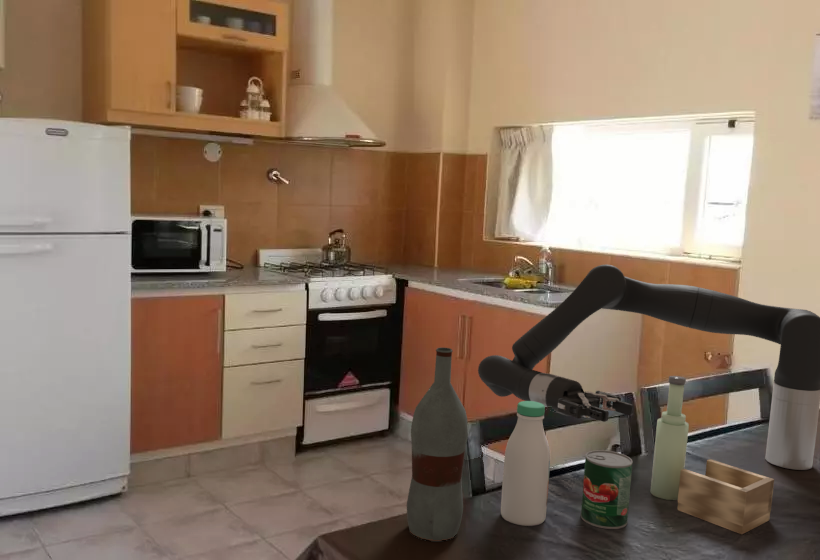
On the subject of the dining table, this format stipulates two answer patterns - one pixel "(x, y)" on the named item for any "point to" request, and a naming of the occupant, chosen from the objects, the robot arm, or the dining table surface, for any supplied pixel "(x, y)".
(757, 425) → the dining table surface
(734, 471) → the cradle
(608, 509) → the canned tomato
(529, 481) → the milk bottle
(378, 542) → the dining table surface
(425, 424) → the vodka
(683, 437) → the glass bottle
